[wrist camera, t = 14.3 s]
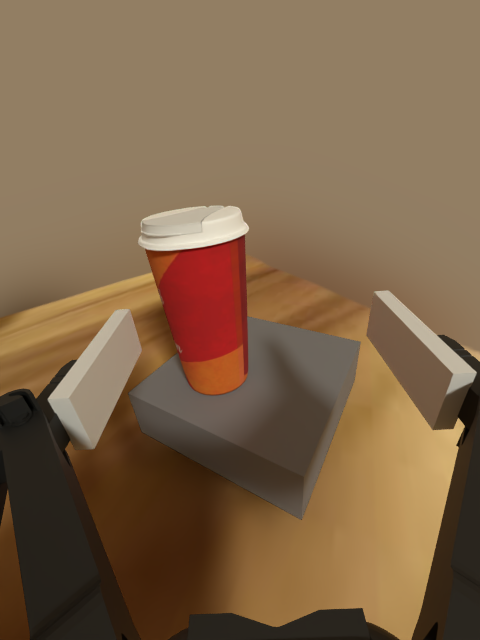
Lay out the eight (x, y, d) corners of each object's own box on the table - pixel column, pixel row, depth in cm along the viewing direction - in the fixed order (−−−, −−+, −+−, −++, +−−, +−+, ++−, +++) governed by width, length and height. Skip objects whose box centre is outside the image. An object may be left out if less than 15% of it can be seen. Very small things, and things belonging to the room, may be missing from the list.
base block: (141, 431, 28) (127, 393, 26) (231, 344, 40) (227, 311, 37) (301, 519, 20) (303, 477, 18) (354, 379, 32) (360, 341, 30)
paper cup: (208, 342, 31) (184, 204, 25) (274, 360, 28) (267, 203, 21) (156, 389, 26) (105, 225, 19) (230, 419, 22) (199, 229, 15)
